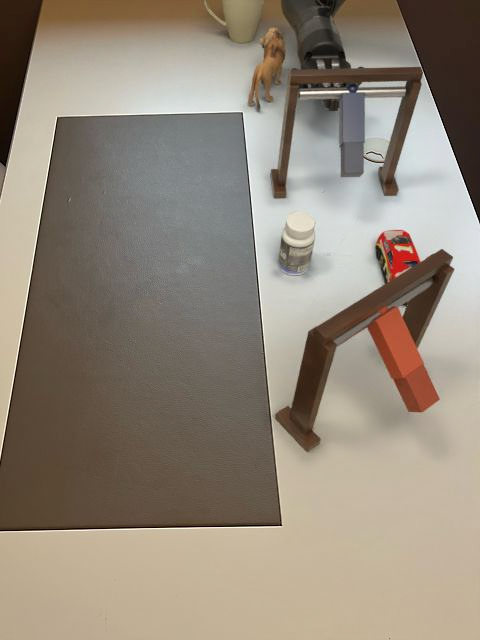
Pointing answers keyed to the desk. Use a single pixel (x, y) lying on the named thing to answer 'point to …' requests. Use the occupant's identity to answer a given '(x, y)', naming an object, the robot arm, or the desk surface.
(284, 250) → the pill bottle
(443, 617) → the desk surface
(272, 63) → the lion figurine
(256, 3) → the mug
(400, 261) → the race car
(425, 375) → the two-tone orange prism
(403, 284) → the near rack
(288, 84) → the far rack
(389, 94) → the far pendulum
